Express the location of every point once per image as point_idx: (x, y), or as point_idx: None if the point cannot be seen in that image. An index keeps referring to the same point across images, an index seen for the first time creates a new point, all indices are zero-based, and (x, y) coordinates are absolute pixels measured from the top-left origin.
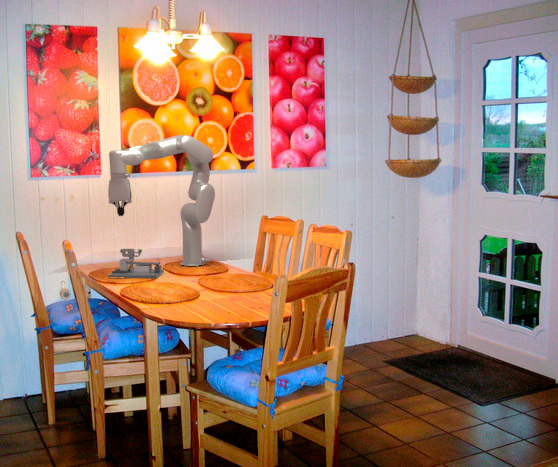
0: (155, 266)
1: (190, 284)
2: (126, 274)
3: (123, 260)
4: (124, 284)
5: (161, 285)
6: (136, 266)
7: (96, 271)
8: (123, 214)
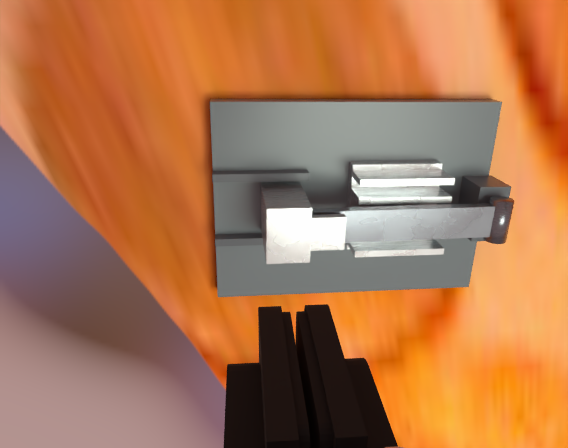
0: None
1: None
2: (309, 273)
3: (291, 261)
4: None
5: (490, 406)
6: (369, 255)
7: (47, 72)
8: (328, 313)
